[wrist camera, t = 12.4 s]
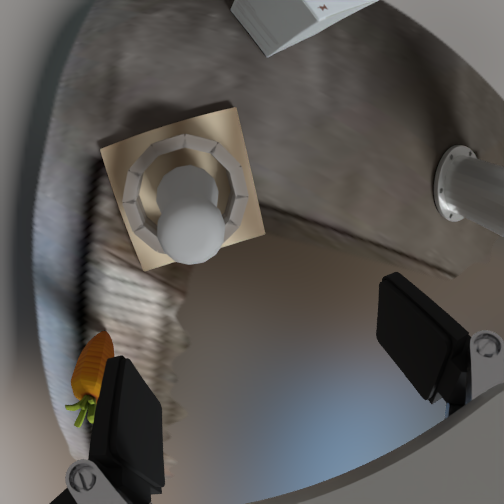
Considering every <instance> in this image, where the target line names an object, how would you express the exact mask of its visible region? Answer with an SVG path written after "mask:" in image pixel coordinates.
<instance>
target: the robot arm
mask: <svg viewBox="0 0 504 504" xmlns="http://www.w3.org/2000/svg"><path fill="white" fill-rule="evenodd" d="M434 198H435V203H436V207H437V209H438V211H439V213H440V214H441V216H443V217H444V218H445V219H447V220H449V221H453V222H455V221H459V220H462V219H463V218H464V217H465V218H467V219H469V220H471V221H473V222H475V223H477V224H479V225H481V226H483V227H485V228H487V229H489V230H491V231H493V232H495V233H497V234H499V235H501V236H503V237H504V167H503V166H500V165H497V164H493V163H490V162H486V161H483V160H479V159H477V158H476V156H475V154H474V153H473V151H472V150H471V149H470V148H468V147H466V146H463V145H454V146H452V147H450V148H449V149H448V150H447V151H446V152H445V154H444V155H443V156H442V158H441V160H440V162H439V165H438V167H437V171H436V175H435V181H434ZM468 334H469V332H467V331H466V330H465V329H464V328H463V327H462V326H461V325H460V324H459V323H457V321H455V320H454V319H453V318H452V317H451V316H450V315H449V314H448V313H446V312H445V311H444V310H443V309H442V308H441V307H439V306H438V305H437V304H436V303H435V302H434V301H432V300H431V299H430V298H429V297H428V296H426V295H425V294H424V293H423V292H422V291H421V290H419V289H418V288H417V287H416V286H415V285H413V284H412V283H411V282H410V281H408V280H407V279H406V278H405V277H404V276H402V275H401V274H400V273H398V272H394V273H392V274H389V275H387V276H384V277H383V279H382V282H380V284H379V303H378V317H377V330H376V336H377V340H378V342H379V343H380V344H381V346H382V347H383V348H384V349H385V351H386V352H387V353H388V354H389V356H390V357H391V358H392V359H393V361H394V362H395V363H396V364H397V366H398V367H399V368H400V369H401V371H402V372H403V373H404V374H405V376H406V377H407V378H408V380H409V381H410V382H411V383H412V385H413V386H414V387H415V389H416V390H417V391H418V393H419V394H420V395H421V396H422V397H423V399H425V400H429V401H430V403H431V404H433V403H435V402H436V401H438V400H439V399H441V398H443V399H444V400H445V401H446V408H445V418H444V420H443V421H442V422H440V423H438V424H437V425H435V426H434V427H432V428H431V429H429V430H427V431H426V432H424V433H423V434H421V435H419V436H418V437H416V438H414V439H413V440H411V441H409V442H407V443H406V444H404V445H402V446H400V447H399V448H397V449H395V450H393V451H391V452H389V453H387V454H385V455H383V456H381V457H379V458H377V459H375V460H373V461H371V462H369V463H367V464H365V465H362V466H360V467H358V468H356V469H353V470H351V471H349V472H347V473H344V474H342V475H339V476H337V477H334V478H331V479H329V480H326V481H323V482H321V483H318V484H315V485H312V486H309V487H306V488H303V489H300V490H297V491H293V492H290V493H287V494H283V495H280V496H276V497H272V498H268V499H264V500H260V501H256V502H251V503H247V504H504V342H503V340H502V339H501V337H500V336H499V335H497V334H496V333H494V332H492V331H487V330H483V331H479V332H476V333H475V334H474V335H473V336H472V338H471V337H470V336H469V335H468ZM65 478H66V485H67V488H66V489H65V490H64V491H63V492H62V493H61V494H60V495H59V496H57V497H56V498H55V499H54V500H53V501H52V502H51V503H50V504H152V503H151V494H162V490H161V487H164V485H165V477H164V460H163V437H162V407H161V404H160V402H159V400H158V399H157V398H156V396H155V395H154V394H153V392H152V391H151V390H150V388H149V387H148V385H147V384H146V383H145V381H144V380H143V378H142V377H141V375H140V374H139V372H138V371H137V369H136V368H135V366H134V365H133V363H132V362H131V360H130V359H128V358H127V359H126V358H125V357H124V356H117V357H112V358H108V359H107V361H106V365H105V370H104V374H103V379H102V384H101V389H100V394H99V397H98V400H97V404H96V410H95V416H94V422H93V428H92V435H91V442H90V450H89V459H88V460H85V459H82V460H78V461H76V462H74V463H73V464H72V465H71V466H70V467H69V468H68V470H67V472H66V477H65Z"/></svg>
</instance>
